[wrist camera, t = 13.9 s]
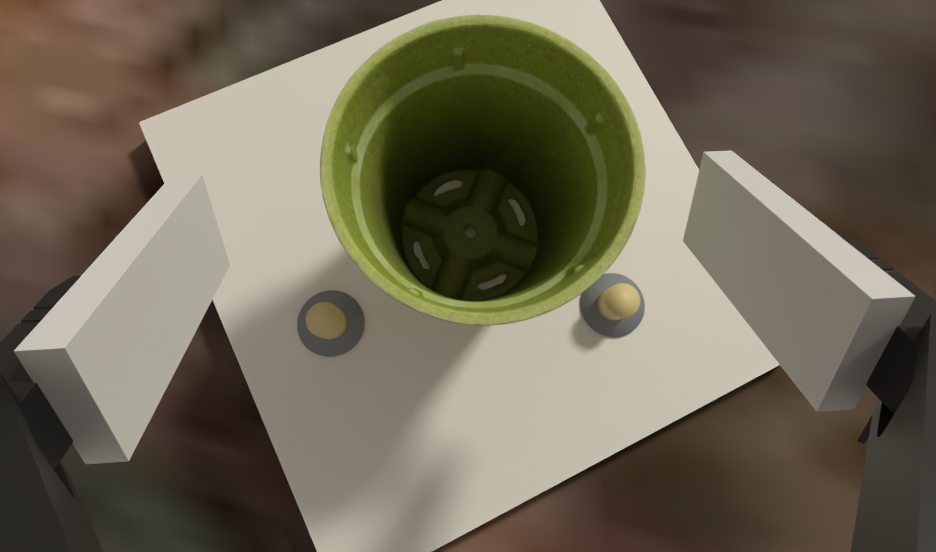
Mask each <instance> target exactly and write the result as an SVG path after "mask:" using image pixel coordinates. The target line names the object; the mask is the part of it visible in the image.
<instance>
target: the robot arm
mask: <svg viewBox="0 0 936 552" xmlns="http://www.w3.org/2000/svg"><path fill="white" fill-rule="evenodd" d="M683 242H684V243H685V244H686V246H687V247H688V248H689V249H690V251H691V252H692V253H693V254H694V256H695V257H696V258H697V260H698V261H699V262H700V263H701V265H702V266H703V267H704V269H705V270H706V271H707V272H708V274H709V275H710V276H711V277H712V279H713V280H714V281H715V283H716V284H717V285H718V286H719V288H720V289H721V290H722V291H723V293H724V294H725V295H726V297H727V298H728V299H729V300H730V302H731V303H732V304H733V305H734V307H735V308H736V309H737V311H738V312H739V313H740V314H741V316H742V317H743V318H744V320H745V321H746V322H747V323H748V325H749V326H750V327H751V328H752V330H753V331H754V332H755V334H756V335H757V336H758V337H759V339H760V340H761V341H762V342H763V344H764V345H765V346H766V348H767V349H768V350H769V351H770V353H771V354H772V355H773V357H774V358H775V359H776V360H777V362H778V363H779V364H780V365H781V367H782V368H783V369H784V371H785V372H786V373H787V374H788V376H789V377H790V378H791V379H792V381H793V382H794V383H795V385H796V386H797V387H798V388H799V390H800V391H801V392H802V394H803V395H804V396H805V397H806V399H807V400H808V401H809V402H810V404H811V405H812V406H813V408H814V409H815V410H816V411H817V412H822V411H836V410H850V409H855V407H856V405H857V403H858V401H859V400H860V398H861V396H862V394H863V392H864V390H865V389H866V387H867V386H868V388H869V389H870V390H871V391H872V392H873V393H874V394H875V395H876V396H877V397H878V398H879V399H880V400H881V401H880V402H879V404H878V406H877V408H876V409H875V411H874V413H873V415H872V416H871V418H870V420H869V422H868V423H867V425H866V427H865V429H864V430H863V432H862V434H861V435H860V437H859V439H858V442H861V443H863V444H864V443H865V441H866V440H867V439H868V437H869V440H868V446H867V453H866V459H865V465H864V471H863V478H862V484H861V490H860V497H859V503H858V509H857V516H856V522H855V528H854V535H853V541H852V547H851V552H936V300H934V299H933V298H932V297H931V296H929V295H928V294H927V293H925V292H924V291H923V290H921V289H920V288H919V287H917V286H916V285H915V284H914V283H912V282H911V281H910V280H908V279H907V278H906V277H904V276H903V275H902V274H901V273H899V272H898V271H894V268H893V267H891V266H890V265H889V264H888V263H886V262H885V261H884V260H880V257H878V256H877V255H876V254H875V253H873V252H872V251H871V250H869V249H868V248H867V247H865V246H864V245H863V244H861V243H859V242H857V241H854V240H852V239H850V238H848V237H846V236H844V235H842V234H839V233H835V232H834V231H832V230H831V229H830V228H829V227H827V226H826V225H825V224H824V223H822V222H821V221H820V220H818V219H817V218H816V217H815V216H813V215H812V214H811V213H810V212H808V211H807V210H806V209H805V208H803V207H802V206H801V205H800V204H798V203H797V202H796V201H794V200H793V199H792V198H791V197H789V196H788V195H787V194H786V193H784V192H783V191H782V190H781V189H779V188H778V187H777V186H775V185H774V184H773V183H772V182H770V181H769V180H768V179H767V178H765V177H764V176H763V175H762V174H760V173H759V172H758V171H757V170H755V169H754V168H753V167H751V166H750V165H749V164H748V163H746V162H745V161H744V160H743V159H741V158H740V157H739V156H738V155H736V154H735V153H734V152H732V151H712V152H703V156H702V161H701V165H700V169H699V174H698V178H697V182H696V186H695V191H694V195H693V199H692V203H691V208H690V212H689V216H688V221H687V225H686V229H685V233H684V238H683ZM229 266H230V263H229V260H228V257H227V253H226V250H225V247H224V244H223V240H222V237H221V234H220V231H219V227H218V224H217V221H216V218H215V214H214V211H213V208H212V205H211V201H210V198H209V195H208V192H207V188H206V185H205V182H204V179H203V175H182V176H171V177H170V178H169V179H168V180H167V181H166V183H165V184H164V185H163V186H162V187H161V188H160V189H159V190H158V191H157V193H156V194H155V195H154V196H153V197H152V198H151V199H150V200H149V201H148V203H147V204H146V205H145V206H144V207H143V208H142V209H141V210H140V211H139V213H138V214H137V215H136V216H135V217H134V218H133V219H132V220H131V221H130V222H129V224H128V225H127V226H126V227H125V228H124V229H123V230H122V231H121V232H120V234H119V235H118V236H117V237H116V238H115V239H114V240H113V241H112V242H111V244H110V245H109V246H108V247H107V248H106V249H105V250H104V251H103V252H102V254H101V255H100V256H99V257H98V258H97V259H96V260H95V261H94V262H93V264H92V265H91V266H90V267H89V268H88V269H87V270H86V271H85V272H84V274H83V275H82V276H72V277H71V278H69V279H68V280H66V281H64V282H63V283H61V284H60V285H58V286H56V287H55V288H53V289H52V290H50V291H49V292H48V293H47V294H46V295H45V296H44V297H43V298H42V299H41V300H40V301H39V302H38V303H37V304H36V306H35V307H34V310H31V311H30V312H29V313H28V314H27V315H26V316H25V317H24V318H23V319H22V320H21V324H17V326H16V327H15V328H14V329H13V330H12V331H11V332H10V333H9V334H8V335H7V336H6V337H5V338H4V339H3V340H2V341H1V342H0V552H103V550H102V548H101V545H100V543H99V541H98V539H97V536H96V534H95V532H94V530H93V527H92V525H91V523H90V521H89V519H88V516H87V514H86V512H85V510H84V507H83V505H82V503H81V501H80V498H79V496H78V494H77V492H76V490H75V487H74V485H73V483H72V481H71V478H70V476H69V474H68V472H67V471H66V469H65V468H64V466H63V465H62V463H61V462H60V461H61V460H62V458H63V457H64V455H65V453H66V452H67V450H68V449H69V447H70V446H71V444H73V445H74V447H75V448H76V450H77V451H78V453H79V455H80V456H81V458H82V459H83V461H84V462H85V464H96V463H110V462H124V461H129V460H130V458H131V456H132V454H133V452H134V450H135V448H136V446H137V444H138V442H139V440H140V439H141V437H142V435H143V433H144V431H145V429H146V427H147V425H148V423H149V421H150V419H151V417H152V415H153V413H154V411H155V410H156V408H157V406H158V404H159V402H160V400H161V398H162V396H163V394H164V392H165V390H166V388H167V386H168V384H169V382H170V381H171V379H172V377H173V375H174V373H175V371H176V369H177V367H178V365H179V363H180V361H181V359H182V357H183V355H184V353H185V352H186V350H187V348H188V346H189V344H190V342H191V340H192V338H193V336H194V334H195V332H196V330H197V328H198V326H199V324H200V323H201V321H202V319H203V317H204V315H205V313H206V311H207V309H208V307H209V305H210V303H211V301H212V299H213V297H214V295H215V294H216V292H217V290H218V288H219V286H220V284H221V282H222V280H223V278H224V276H225V274H226V272H227V270H228V268H229Z"/></svg>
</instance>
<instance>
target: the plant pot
mask: <svg viewBox="0 0 936 552" xmlns="http://www.w3.org/2000/svg"><path fill="white" fill-rule="evenodd" d="M455 180H457V181H461V182H462V186H461V187H459V188H454V189H451V190H448V191H446V192H444V193H442V194H441V193H439V195H437V196H435V195H434V194H435V191H436V190H437V189H438V188H439V187H441V186H442V185H443V184H445V183H447V182H450V181H455ZM645 181H646V166H645V154H644V148H643V142H642V137H641V133H640V130H639V127H638V123H637V120H636V118H635V115H634V113H633V111H632V109H631V107H630V105H629V103H628V101H627V99H626V98H625V96H624V94H623V93H622V91H621V89H620V88H619V86H618V84H617V83H616V82H615V80H614V79H613V78H612V77H611V76H610V74H609V73H608V72H607V71H606V70H605V69H604V68H603V67H602V66H601V65H600V64H599V63H598V62H597V61H596V60H595V59H594V58H592V57H591V56H590V55H589V54H588V53H587V52H585V51H584V50H583V49H581V48H580V47H579V46H577V45H576V44H575V43H573V42H572V41H570V40H569V39H567V38H565V37H563V36H561V35H559V34H557V33H555V32H553V31H551V30H549V29H547V28H545V27H542V26H539V25H537V24H534V23H531V22H528V21H524V20H520V19H515V18H509V17H503V16H496V15H464V16H456V17H451V18H444V19H439V20H436V21H432V22H428V23H425V24H423V25H420V26H418V27H416V28H414V29H412V30H410V31H408V32H406V33H403V34H401V35H399V36H398V37H396V38H394V39H393V40H391V41H389V42H388V43H386V44H385V45H383V46H382V47H380V48H379V49H378V50H377V51H376V52H374V53H373V54H372V55H371V57H369V58H368V59H367V60H366V61H365V62H364V63H363V64H362V65H361V66H360V67H359V68H358V69H357V70H356V71H355V72H354V74H353V75H352V76H351V77H350V79H349V80H348V81H347V83H346V84H345V86H344V88H343V89H342V90H341V92H340V94H339V96H338V97H337V99H336V101H335V103H334V105H333V108H332V110H331V113H330V115H329V118H328V120H327V123H326V127H325V131H324V135H323V141H322V147H321V156H320V182H321V190H322V196H323V200H324V204H325V208H326V211H327V214H328V217H329V220H330V222H331V225H332V227H333V229H334V232H335V234H336V236H337V238H338V240H339V241H340V243H341V245H342V247H343V248H344V250H345V251H346V253H347V254H348V256H349V257H350V259H351V260H352V261H353V262H354V264H355V265H356V266H357V267H358V269H359V270H360V271H361V272H362V273H363V274H364V275H365V276H366V277H367V278H368V279H369V280H370V281H371V282H372V283H373V284H374V285H375V286H377V287H378V288H379V289H380V290H382V291H383V292H384V293H386V294H387V295H388V296H390V297H392V298H393V299H395V300H396V301H398V302H400V303H401V304H403V305H405V306H407V307H408V308H410V309H412V310H415V311H417V312H419V313H422V314H425V315H427V316H430V317H433V318H436V319H439V320H443V321H447V322H452V323H458V324H465V325H475V326H491V325H503V324H510V323H515V322H520V321H524V320H528V319H532V318H535V317H538V316H541V315H543V314H546V313H548V312H551V311H553V310H555V309H557V308H559V307H561V306H563V305H565V304H566V303H568V302H570V301H571V300H573V299H574V298H576V297H577V296H579V295H580V294H582V293H583V292H584V291H586V290H587V289H588V288H589V287H590V286H592V285H593V284H594V283H595V282H596V281H597V280H598V279H599V278H600V277H601V276H602V275H603V274H604V273H605V272H606V271H607V270H608V269H609V268H610V266H611V265H612V264H613V263H614V262H615V260H616V259H617V258H618V256H619V255H620V253H621V252H622V250H623V249H624V247H625V245H626V243H627V241H628V240H629V238H630V236H631V234H632V231H633V229H634V226H635V224H636V221H637V219H638V216H639V213H640V211H641V206H642V202H643V196H644V190H645ZM509 199H511V200H515V201H516V202H517V203H518V205H519V207H520V208H521V210H522V212H523V214H524V217H525V224H524V225H523V226H520V225H519V222H518V220H517V217H516V214H515V212H514V210H513V208H512V206H511V205H510V203H509V202H508V200H509ZM468 226H471V227H473V228H474V229H475V231H476V235H475V236H474V237H472V238H469V237H467V236H466V234H465V232H464V231H465V229H466V227H468ZM415 241H419V242H420V244H421V248H422V250H423V253H424V256H425V257H426V259H427V261H428V263H429V264H430V269H429V270H428V269H424V268H423V267H422V264H421V262H420V260H419V258H418V257H417V256H416V255H415V253H414V247H413V244H414V242H415ZM500 273H506V275H507V276H506V279H505V280H504V281H503V283H501V284H498V285H495V286H493V287H491V288H488V289H479V288H477V285H478V283H480V282H484V281H488V280H490V279H493V278H494V277H497V276H498V275H499V274H500Z"/></svg>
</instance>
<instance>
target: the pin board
mask: <svg viewBox="0 0 936 552" xmlns="http://www.w3.org/2000/svg"><path fill="white" fill-rule="evenodd" d="M464 15H496V16H503V17H509V18H515V19H520V20H524V21H528V22H531V23H534V24H537V25H539V26H542V27H545V28H547V29H549V30H551V31H553V32H555V33H557V34H559V35H561V36H563V37H565V38H567V39H569V40H570V41H572V42H573V43H575V44H576V45H577V46H579V47H580V48H581V49H583V50H584V51H585V52H587V53H588V54H589V55H590V56H591V57H592V58H594V59H595V60H596V61H597V62H598V63H599V64H600V65H601V66H602V67H603V68H604V69H605V70H606V71H607V72H608V73H609V74H610V76H611V77H612V78H613V79H614V80H615V82H616V83H617V84H618V86H619V88H620V89H621V91H622V93H623V94H624V96H625V98H626V99H627V101H628V103H629V105H630V107H631V109H632V111H633V113H634V115H635V118H636V120H637V123H638V127H639V130H640V133H641V137H642V142H643V148H644V154H645V166H646V181H645V190H644V196H643V202H642V206H641V211H640V213H639V216H638V219H637V221H636V224H635V226H634V229H633V231H632V234H631V236H630V238H629V240H628V241H627V243H626V245H625V247H624V249H623V250H622V252H621V253H620V255H619V256H618V258H617V259H616V260H615V262H614V263H613V264H612V265H611V266H610V268H609V269H608V270H607V271H606V272H605V273H604V274H603V275H602V276H601V277H600V278H599V279H598V280H597V281H596V282H595V283H594V284H593V285H592V286H590V287H589V288H588V289H587V290H586V291H584V292H583V293H582V294H580V295H579V296H577V297H576V298H574V299H573V300H571V301H570V302H568V303H566V304H565V305H563V306H561V307H559V308H557V309H555V310H553V311H551V312H548V313H546V314H543V315H541V316H538V317H535V318H532V319H528V320H524V321H520V322H515V323H510V324H503V325H491V326H475V325H465V324H458V323H452V322H447V321H443V320H439V319H436V318H433V317H430V316H427V315H425V314H422V313H419V312H417V311H415V310H412V309H410V308H408V307H407V306H405V305H403V304H401V303H400V302H398V301H396V300H395V299H393V298H392V297H390V296H388V295H387V294H386V293H384V292H383V291H382V290H380V289H379V288H378V287H377V286H375V285H374V284H373V283H372V282H371V281H370V280H369V279H368V278H367V277H366V276H365V275H364V274H363V273H362V272H361V271H360V270H359V269H358V267H357V266H356V265H355V264H354V262H353V261H352V260H351V259H350V257H349V256H348V254H347V253H346V251H345V250H344V248H343V247H342V245H341V243H340V241H339V240H338V238H337V236H336V234H335V232H334V229H333V227H332V225H331V222H330V220H329V217H328V214H327V211H326V208H325V204H324V200H323V196H322V190H321V182H320V156H321V147H322V141H323V135H324V131H325V127H326V123H327V120H328V118H329V115H330V113H331V110H332V108H333V105H334V103H335V101H336V99H337V97H338V96H339V94H340V92H341V90H342V89H343V88H344V86H345V84H346V83H347V81H348V80H349V79H350V77H351V76H352V75H353V74H354V72H355V71H356V70H357V69H358V68H359V67H360V66H361V65H362V64H363V63H364V62H365V61H366V60H367V59H368V58H369V57H371V55H372V54H373V53H374V52H376V51H377V50H378V49H379V48H380V47H382V46H383V45H385V44H386V43H388V42H389V41H391V40H393V39H394V38H396V37H398V36H399V35H401V34H403V33H406V32H408V31H410V30H412V29H414V28H416V27H418V26H420V25H423V24H425V23H428V22H432V21H436V20H439V19H444V18H451V17H456V16H464ZM139 124H140V126H141V128H142V131H143V133H144V136H145V138H146V141H147V143H148V145H149V148H150V150H151V153H152V155H153V157H154V160H155V162H156V165H157V167H158V169H159V172H160V174H161V177H162V179H163V182H164V184H165V183H166V181H167V180H168V179H169V178H170V177H171V176H182V175H203V179H204V182H205V185H206V188H207V192H208V195H209V198H210V201H211V205H212V208H213V211H214V214H215V218H216V221H217V224H218V227H219V231H220V234H221V237H222V240H223V244H224V247H225V250H226V253H227V257H228V260H229V263H230V266H229V268H228V270H227V272H226V274H225V276H224V278H223V280H222V282H221V284H220V286H219V288H218V290H217V292H216V294H215V295H214V297H213V299H212V300H213V302H214V304H215V307H216V309H217V312H218V314H219V317H220V319H221V321H222V324H223V326H224V329H225V331H226V333H227V336H228V338H229V341H230V343H231V345H232V348H233V350H234V353H235V355H236V358H237V360H238V362H239V365H240V367H241V370H242V372H243V374H244V377H245V379H246V382H247V384H248V386H249V389H250V391H251V394H252V396H253V399H254V401H255V403H256V406H257V408H258V411H259V413H260V415H261V418H262V420H263V423H264V425H265V427H266V430H267V432H268V435H269V437H270V440H271V442H272V444H273V447H274V449H275V452H276V454H277V456H278V459H279V461H280V464H281V466H282V468H283V471H284V473H285V476H286V478H287V480H288V483H289V485H290V488H291V490H292V493H293V495H294V497H295V500H296V502H297V505H298V507H299V509H300V512H301V514H302V517H303V519H304V521H305V524H306V526H307V529H308V531H309V534H310V536H311V538H312V541H313V543H314V546H315V548H316V550H317V552H432V551H434V550H436V549H438V548H439V547H441V546H443V545H445V544H447V543H449V542H451V541H452V540H454V539H456V538H458V537H460V536H462V535H464V534H465V533H467V532H469V531H471V530H473V529H475V528H477V527H479V526H480V525H482V524H484V523H486V522H488V521H490V520H492V519H493V518H495V517H497V516H499V515H501V514H503V513H505V512H506V511H508V510H510V509H512V508H514V507H516V506H518V505H520V504H521V503H523V502H525V501H527V500H529V499H531V498H533V497H534V496H536V495H538V494H540V493H542V492H544V491H546V490H547V489H549V488H551V487H553V486H555V485H557V484H559V483H561V482H562V481H564V480H566V479H568V478H570V477H572V476H574V475H575V474H577V473H579V472H581V471H583V470H585V469H587V468H588V467H590V466H592V465H594V464H596V463H598V462H600V461H602V460H603V459H605V458H607V457H609V456H611V455H613V454H615V453H616V452H618V451H620V450H622V449H624V448H626V447H628V446H629V445H631V444H633V443H635V442H637V441H639V440H641V439H643V438H644V437H646V436H648V435H650V434H652V433H654V432H656V431H657V430H659V429H661V428H663V427H665V426H667V425H669V424H670V423H672V422H674V421H676V420H678V419H680V418H682V417H684V416H685V415H687V414H689V413H691V412H693V411H695V410H697V409H698V408H700V407H702V406H704V405H706V404H708V403H710V402H711V401H713V400H715V399H717V398H719V397H721V396H723V395H725V394H726V393H728V392H730V391H732V390H734V389H736V388H738V387H739V386H741V385H743V384H745V383H747V382H749V381H751V380H752V379H754V378H756V377H758V376H760V375H762V374H764V373H766V372H767V371H769V370H771V369H773V368H775V367H777V366H779V365H780V364H779V363H778V362H777V360H776V359H775V358H774V357H773V355H772V354H771V353H770V351H769V350H768V349H767V348H766V346H765V345H764V344H763V342H762V341H761V340H760V339H759V337H758V336H757V335H756V334H755V332H754V331H753V330H752V328H751V327H750V326H749V325H748V323H747V322H746V321H745V320H744V318H743V317H742V316H741V314H740V313H739V312H738V311H737V309H736V308H735V307H734V305H733V304H732V303H731V302H730V300H729V299H728V298H727V297H726V295H725V294H724V293H723V291H722V290H721V289H720V288H719V286H718V285H717V284H716V283H715V281H714V280H713V279H712V277H711V276H710V275H709V274H708V272H707V271H706V270H705V269H704V267H703V266H702V265H701V263H700V262H699V261H698V260H697V258H696V257H695V256H694V254H693V253H692V252H691V251H690V249H689V248H688V247H687V246H686V244H685V243H684V242H683V238H684V233H685V229H686V225H687V221H688V216H689V212H690V208H691V203H692V199H693V195H694V191H695V186H696V182H697V178H698V174H699V169H698V167H697V166H696V164H695V162H694V161H693V159H692V157H691V155H690V154H689V152H688V150H687V149H686V147H685V145H684V144H683V142H682V140H681V138H680V137H679V135H678V133H677V132H676V130H675V128H674V126H673V125H672V123H671V121H670V120H669V118H668V116H667V115H666V113H665V111H664V109H663V108H662V106H661V104H660V103H659V101H658V99H657V98H656V96H655V94H654V92H653V91H652V89H651V87H650V86H649V84H648V82H647V80H646V79H645V77H644V75H643V74H642V72H641V70H640V69H639V67H638V65H637V63H636V62H635V60H634V58H633V57H632V55H631V53H630V51H629V50H628V48H627V46H626V45H625V43H624V41H623V40H622V38H621V36H620V34H619V33H618V31H617V29H616V28H615V26H614V24H613V22H612V21H611V19H610V17H609V16H608V14H607V12H606V11H605V9H604V7H603V5H602V4H601V2H600V0H442V1H439V2H437V3H434V4H432V5H429V6H427V7H424V8H422V9H419V10H417V11H414V12H412V13H409V14H407V15H405V16H402V17H400V18H397V19H395V20H392V21H390V22H387V23H385V24H382V25H380V26H377V27H375V28H372V29H370V30H367V31H365V32H362V33H360V34H357V35H355V36H352V37H350V38H347V39H345V40H342V41H340V42H337V43H335V44H332V45H330V46H327V47H325V48H323V49H320V50H318V51H315V52H313V53H310V54H308V55H305V56H303V57H300V58H298V59H295V60H293V61H290V62H288V63H285V64H283V65H280V66H278V67H275V68H273V69H270V70H268V71H265V72H263V73H260V74H258V75H255V76H253V77H250V78H248V79H246V80H243V81H241V82H238V83H236V84H233V85H231V86H228V87H226V88H223V89H221V90H218V91H216V92H213V93H211V94H208V95H206V96H203V97H201V98H198V99H196V100H193V101H191V102H188V103H186V104H183V105H181V106H178V107H176V108H173V109H171V110H169V111H166V112H164V113H161V114H159V115H156V116H154V117H151V118H149V119H146V120H144V121H141V122H139ZM461 186H462V182H461V181H457V180H455V181H450V182H447V183H445V184H443V185H442V186H441V187H439V188H438V189H437V190H436V191H435V194H434V195H435V196H437V195H439V193H441V194H442V193H444V192H446V191H448V190H451V189H454V188H459V187H461ZM508 202H509V203H510V205H511V206H512V208H513V210H514V212H515V214H516V217H517V220H518V222H519V225H520V226H523V225H524V224H525V217H524V214H523V212H522V210H521V208H520V207H519V205H518V203H517V202H516V201H515V200H511V199H509V200H508ZM464 232H465V234H466V236H467V237H469V238H472V237H474V236H475V235H476V231H475V229H474V228H473V227H471V226H468V227H466V229H465V231H464ZM413 247H414V253H415V255H416V256H417V257H418V258H419V260H420V262H421V264H422V267H423V268H424V269H428V270H429V269H430V264H429V263H428V261H427V259H426V257H425V256H424V253H423V250H422V248H421V244H420V242H419V241H415V242H414V244H413ZM506 276H507V275H506V273H500V274H499V275H498V276H497V277H494V278H493V279H490V280H488V281H484V282H480V283H478V285H477V288H479V289H488V288H491V287H493V286H495V285H498V284H501V283H503V281H504V280H505V279H506Z"/></svg>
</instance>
